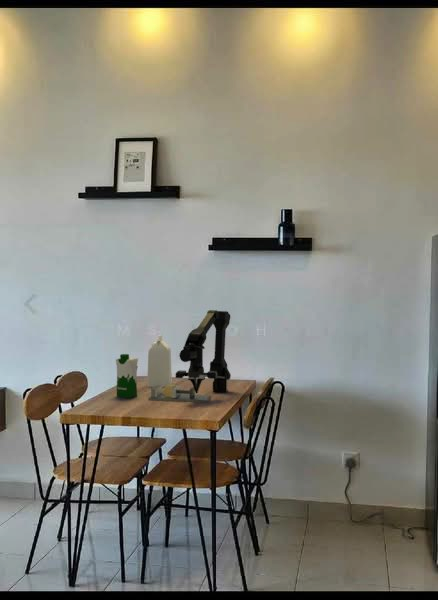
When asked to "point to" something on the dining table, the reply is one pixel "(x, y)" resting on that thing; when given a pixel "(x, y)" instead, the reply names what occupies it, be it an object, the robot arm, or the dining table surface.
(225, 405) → the dining table surface
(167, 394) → the block
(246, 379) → the dining table surface
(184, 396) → the vise
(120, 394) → the milk carton
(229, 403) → the dining table surface
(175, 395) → the jaw
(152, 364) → the milk
